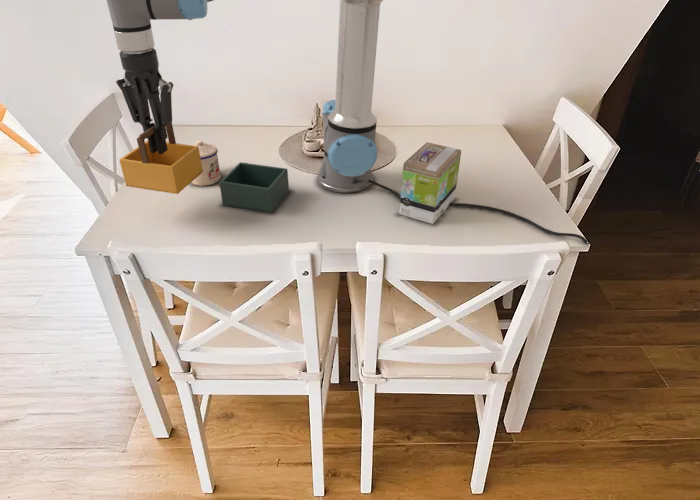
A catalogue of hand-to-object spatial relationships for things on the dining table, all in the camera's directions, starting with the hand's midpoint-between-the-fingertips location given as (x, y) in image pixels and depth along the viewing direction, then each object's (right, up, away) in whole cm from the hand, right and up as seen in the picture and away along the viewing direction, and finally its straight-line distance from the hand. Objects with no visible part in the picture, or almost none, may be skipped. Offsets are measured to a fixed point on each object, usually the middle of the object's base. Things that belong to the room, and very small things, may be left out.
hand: (159, 151), depth 128 cm
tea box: (+66, -12, +13) cm, 68 cm away
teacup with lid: (+4, -3, +27) cm, 28 cm away
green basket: (+20, -10, +17) cm, 28 cm away
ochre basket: (0, -6, +4) cm, 7 cm away
